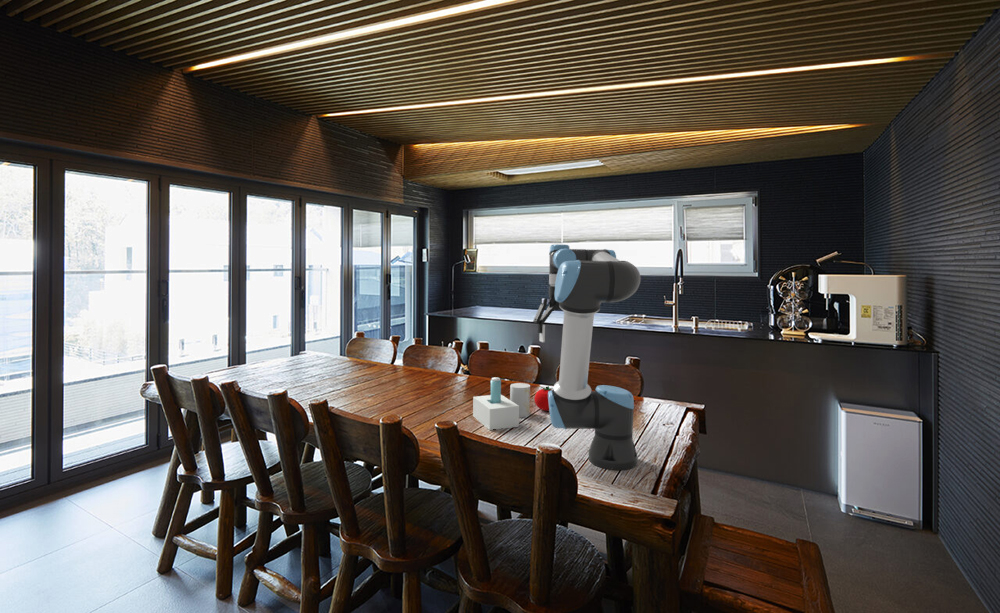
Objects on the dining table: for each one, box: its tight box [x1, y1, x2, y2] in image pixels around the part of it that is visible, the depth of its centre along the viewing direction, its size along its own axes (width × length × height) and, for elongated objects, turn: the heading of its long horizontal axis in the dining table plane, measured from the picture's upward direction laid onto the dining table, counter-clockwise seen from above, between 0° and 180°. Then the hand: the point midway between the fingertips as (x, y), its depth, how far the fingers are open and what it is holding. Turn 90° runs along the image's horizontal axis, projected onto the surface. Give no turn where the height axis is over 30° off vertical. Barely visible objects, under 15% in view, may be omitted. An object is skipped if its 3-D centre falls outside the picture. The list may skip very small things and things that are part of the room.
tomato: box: [534, 385, 554, 412], centre depth 208 cm, size 10×10×10 cm
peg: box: [490, 376, 502, 404], centre depth 191 cm, size 4×4×15 cm
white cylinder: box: [509, 382, 531, 418], centre depth 201 cm, size 8×8×12 cm
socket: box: [472, 394, 520, 431], centre depth 192 cm, size 18×12×8 cm, turn 23°
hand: (557, 340), depth 188 cm, fingers open, 13 cm apart
